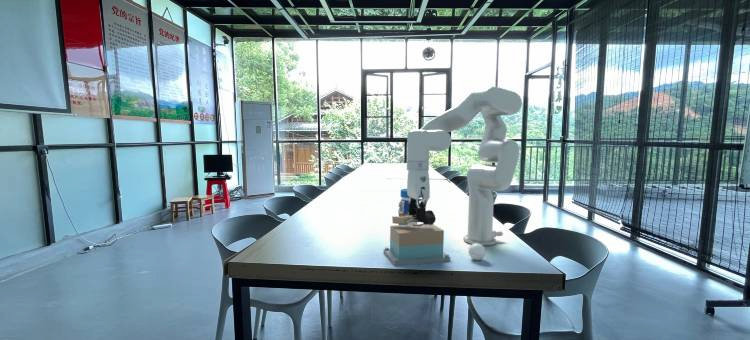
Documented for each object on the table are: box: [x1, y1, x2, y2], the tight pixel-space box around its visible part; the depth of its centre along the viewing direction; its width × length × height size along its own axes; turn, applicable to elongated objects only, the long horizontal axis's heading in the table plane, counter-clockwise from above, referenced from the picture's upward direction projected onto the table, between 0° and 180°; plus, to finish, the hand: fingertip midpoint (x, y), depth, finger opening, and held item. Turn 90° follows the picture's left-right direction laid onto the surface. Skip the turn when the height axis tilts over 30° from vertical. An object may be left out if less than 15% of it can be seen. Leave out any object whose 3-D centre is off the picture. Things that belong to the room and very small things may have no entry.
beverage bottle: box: [397, 188, 418, 225], centre depth 138 cm, size 8×8×20 cm
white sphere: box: [468, 243, 491, 261], centre depth 110 cm, size 8×6×6 cm
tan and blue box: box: [383, 223, 451, 267], centre depth 113 cm, size 20×13×10 cm, turn 104°
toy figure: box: [391, 209, 436, 226], centre depth 114 cm, size 7×6×15 cm
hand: (416, 216), depth 113 cm, fingers closed on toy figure, 6 cm apart
